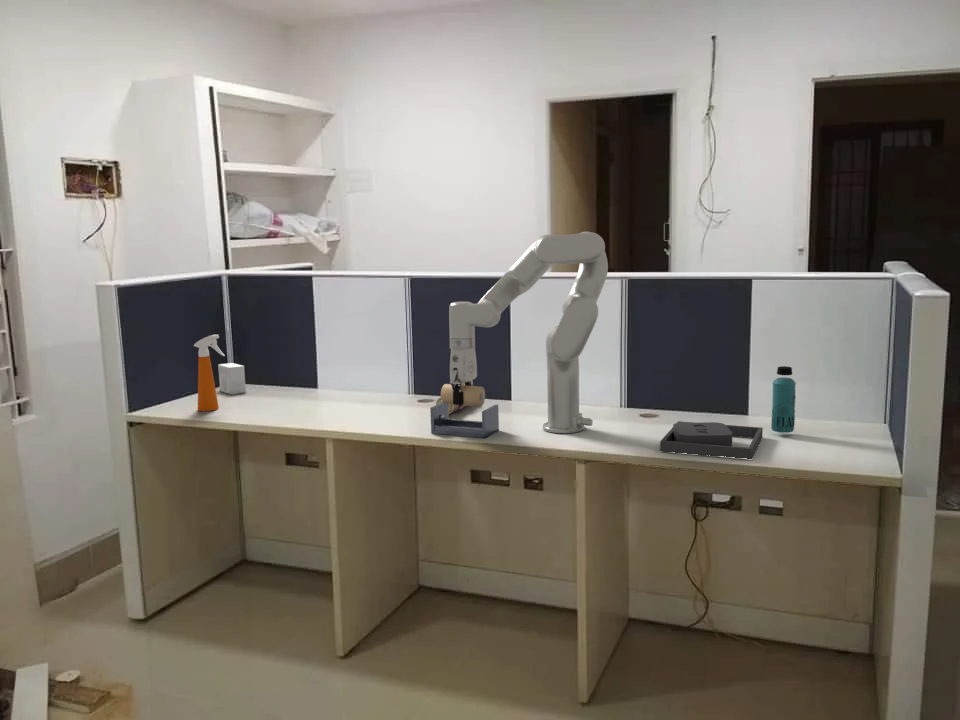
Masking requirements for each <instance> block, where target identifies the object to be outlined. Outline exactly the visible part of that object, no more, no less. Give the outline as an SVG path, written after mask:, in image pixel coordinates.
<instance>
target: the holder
mask: <svg viewBox="0 0 960 720" xmlns="http://www.w3.org/2000/svg"><path fill="white" fill-rule="evenodd" d="M429 409H430V430H431V431H430V433H431V434H434V435H443V436H444V435H445V436H452V437H453V436H454V437H467V438H475V439H476V438H478V439H487V438H489V437H490V436H492V435H493V434H495V433H497V432H498V431H500V420H499V419H500V418H499V404H494V405H491V406H489V407H488V408H486V409H484V410H483V411H481V421H478V420H468V419H467V420H466V419H456V418H455V419H454V418H450V417H449V414H448V404H444V403H443V402H442V403H439V404H437V405H436V404H435V405H433V406H431V407H429Z"/></svg>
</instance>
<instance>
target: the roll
mask: <svg viewBox="0 0 960 720" xmlns="http://www.w3.org/2000/svg"><path fill="white" fill-rule="evenodd" d="M458 385H459V386H460V384H458ZM462 392H463V401H464V404H463V405H465V406H467V407H468V406H469V407H477V408H481V407H483V405H484V404H485V400H486V390H485V388H484V387H483V386H479V385H478V386H476V385H473V386H466V385H464V384H463V388H462ZM440 398H441V401H442V402H443V403H444V404H453V391H452V387H451V384H450V383H444V384H443V386H442V387H441V390H440Z"/></svg>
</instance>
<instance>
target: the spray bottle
mask: <svg viewBox="0 0 960 720" xmlns="http://www.w3.org/2000/svg"><path fill="white" fill-rule="evenodd" d="M219 335H220V334H212V335H211V334H210V335H207V336H206V337H203V338H202V339H200V340H198V341H196V342H195V343H194V344H193V347H195V348H198V354H197V355H198V361H197V362H198V363H197V364H198V370H197V371H198V372H197V374H198V376H197V411H199V412H212V411H211V410H213V411H215V410H218V409H219V408H220V407H219V402H218V396H217V389H216V386H215V380H214V379H215V378H214V374H213V368H212V362H211V357H210V351H209V350H210V349H209V347H211V348H212V349H213V350H215V351H216V352H217V353H218V354H219V355H221V356H223V357H225V356H226V355H225V354H224V353H223V351H222V350H221V349H220V348H219V346H218V341H217V340H218V339H219V338H220V336H219Z"/></svg>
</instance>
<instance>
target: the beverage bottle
mask: <svg viewBox="0 0 960 720" xmlns="http://www.w3.org/2000/svg"><path fill="white" fill-rule="evenodd" d="M776 374H777V375H780V376H781V377H777V378H775V379H774V380H773V381H772V404H771V405H772V408H771V426H770V427H771V431H772V432H777V433H780V434H781V433H783V434H784V433H785V434H786V433H792V432H794V430H795V423H796V418H795V416H796V414H795V413H796V408H795V407H796V384H797V383H796V381H795V380H794V379H793V378H791V377H782V376H792V375H793V368H792V367H791V366H785V365H784V366H778V367H777V370H776Z"/></svg>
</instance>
